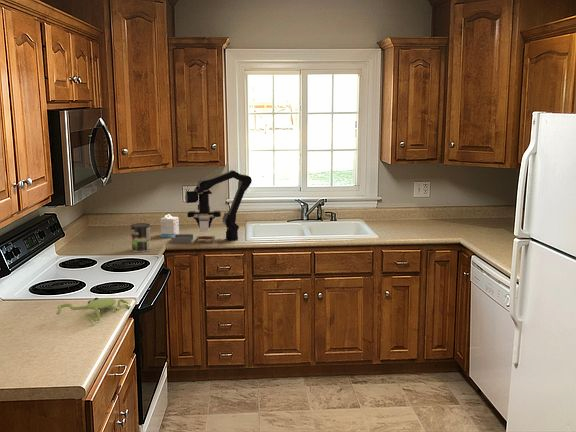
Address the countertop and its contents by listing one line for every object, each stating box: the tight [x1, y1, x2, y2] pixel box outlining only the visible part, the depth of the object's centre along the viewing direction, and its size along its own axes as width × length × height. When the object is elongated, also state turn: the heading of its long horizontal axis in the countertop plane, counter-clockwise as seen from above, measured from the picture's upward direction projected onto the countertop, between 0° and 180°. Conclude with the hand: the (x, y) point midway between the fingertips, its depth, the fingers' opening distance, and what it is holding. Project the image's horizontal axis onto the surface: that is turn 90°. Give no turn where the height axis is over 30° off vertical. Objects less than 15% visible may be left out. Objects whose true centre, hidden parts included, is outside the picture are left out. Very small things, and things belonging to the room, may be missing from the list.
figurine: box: [55, 297, 131, 324], centre depth 238 cm, size 18×27×6 cm
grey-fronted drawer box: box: [199, 217, 211, 232], centre depth 355 cm, size 5×7×7 cm
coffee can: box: [130, 222, 152, 253], centre depth 337 cm, size 10×10×14 cm
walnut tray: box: [194, 235, 216, 244], centre depth 357 cm, size 10×12×2 cm
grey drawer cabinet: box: [170, 233, 194, 244], centre depth 357 cm, size 11×11×4 cm
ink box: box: [160, 213, 180, 239], centre depth 370 cm, size 9×8×13 cm
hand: (204, 228), depth 356 cm, fingers closed on grey-fronted drawer box, 5 cm apart
